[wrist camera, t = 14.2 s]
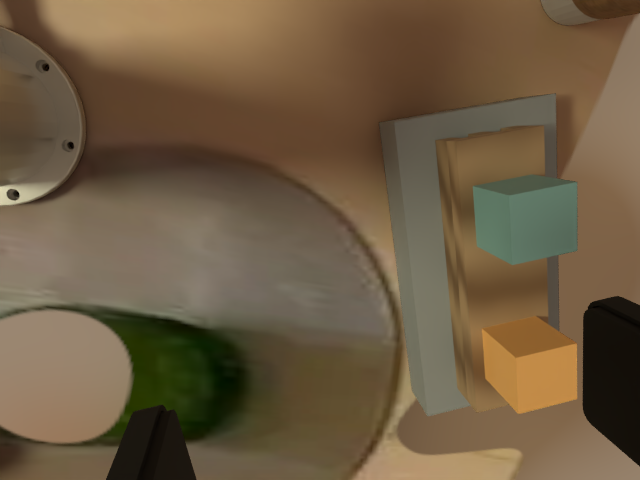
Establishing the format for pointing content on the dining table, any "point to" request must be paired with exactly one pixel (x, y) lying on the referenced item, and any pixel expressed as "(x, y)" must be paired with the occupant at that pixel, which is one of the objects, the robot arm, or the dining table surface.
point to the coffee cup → (588, 10)
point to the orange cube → (530, 363)
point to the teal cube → (526, 218)
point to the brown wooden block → (477, 264)
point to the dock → (428, 238)
